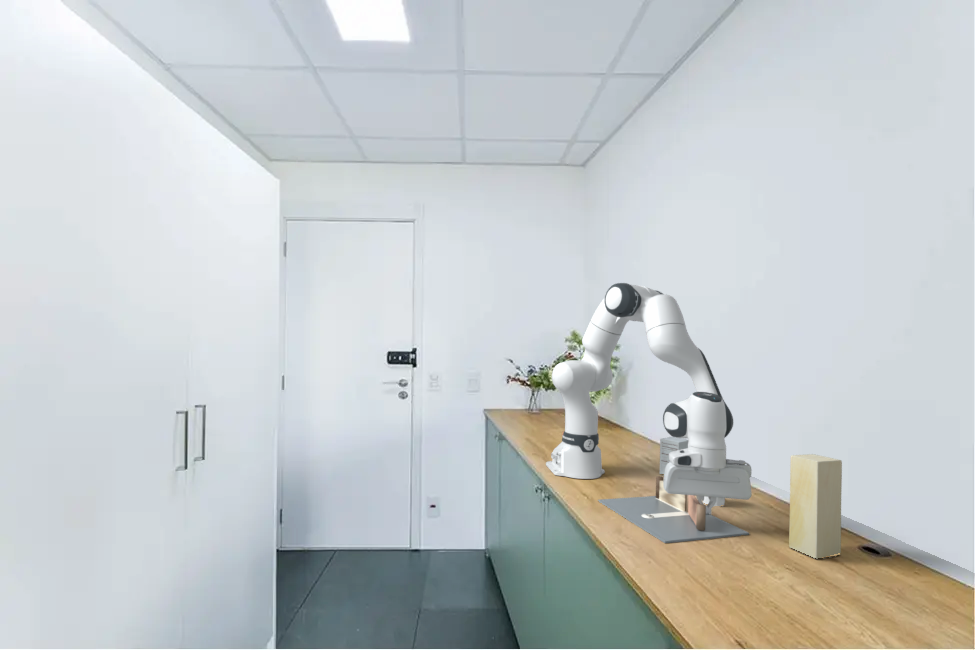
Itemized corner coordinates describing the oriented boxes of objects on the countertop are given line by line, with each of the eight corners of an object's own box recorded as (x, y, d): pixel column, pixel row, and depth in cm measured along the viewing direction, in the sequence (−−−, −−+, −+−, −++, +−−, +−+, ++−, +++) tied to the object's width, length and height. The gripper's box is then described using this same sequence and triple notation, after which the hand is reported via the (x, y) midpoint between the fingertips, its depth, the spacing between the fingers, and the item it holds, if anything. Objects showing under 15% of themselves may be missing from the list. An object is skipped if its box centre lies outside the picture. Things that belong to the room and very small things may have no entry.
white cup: (699, 504, 143) (700, 479, 144) (701, 498, 149) (702, 474, 150) (726, 509, 140) (726, 483, 140) (727, 502, 146) (727, 478, 146)
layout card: (597, 501, 143) (598, 499, 143) (669, 496, 150) (669, 494, 150) (664, 543, 114) (665, 540, 114) (749, 534, 121) (749, 532, 121)
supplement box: (670, 471, 180) (670, 436, 181) (689, 476, 175) (690, 439, 175) (658, 474, 176) (659, 438, 176) (678, 479, 170) (679, 442, 170)
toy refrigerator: (809, 542, 118) (811, 452, 118) (841, 555, 111) (843, 460, 111) (785, 546, 115) (787, 454, 115) (816, 560, 108) (818, 462, 108)
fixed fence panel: (654, 497, 147) (654, 476, 147) (659, 496, 148) (660, 476, 148) (683, 511, 135) (684, 489, 135) (689, 511, 135) (690, 489, 136)
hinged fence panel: (685, 510, 135) (685, 489, 135) (692, 511, 135) (693, 489, 135) (697, 530, 121) (697, 506, 121) (706, 530, 120) (706, 506, 121)
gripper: (747, 458, 127) (747, 513, 126) (662, 452, 131) (661, 506, 130) (755, 463, 120) (755, 522, 120) (666, 457, 124) (665, 514, 124)
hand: (706, 513), depth 125 cm, fingers closed
